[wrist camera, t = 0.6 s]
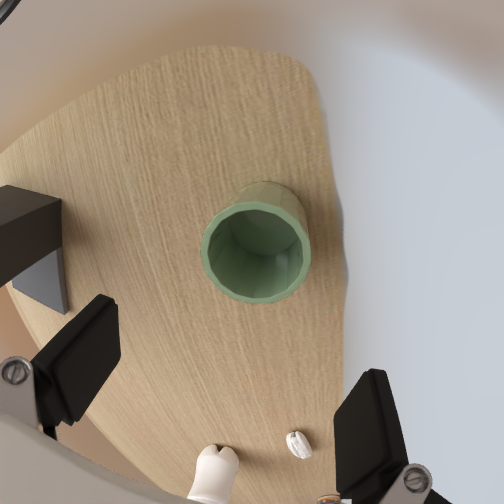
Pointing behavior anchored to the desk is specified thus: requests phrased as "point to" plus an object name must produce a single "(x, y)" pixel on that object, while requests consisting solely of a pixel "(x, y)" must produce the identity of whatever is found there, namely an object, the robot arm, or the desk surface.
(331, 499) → the pill bottle
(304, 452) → the white oval pebble
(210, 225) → the cup
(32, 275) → the coffee maker
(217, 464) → the water bottle
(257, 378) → the desk surface
